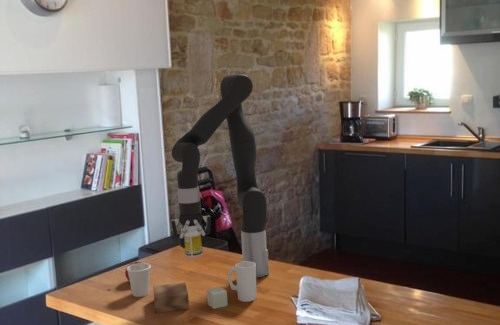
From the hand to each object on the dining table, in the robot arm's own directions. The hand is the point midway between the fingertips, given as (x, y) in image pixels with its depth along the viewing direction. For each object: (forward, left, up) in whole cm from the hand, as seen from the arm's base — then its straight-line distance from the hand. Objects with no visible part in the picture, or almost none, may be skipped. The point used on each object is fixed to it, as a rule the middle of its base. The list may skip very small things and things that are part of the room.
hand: (193, 246), depth 198 cm
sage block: (-6, +14, -17) cm, 22 cm away
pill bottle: (0, 0, -3) cm, 3 cm away
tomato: (+20, -17, -17) cm, 31 cm away
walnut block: (+9, +9, -17) cm, 21 cm away
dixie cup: (+19, -4, -17) cm, 26 cm away
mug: (-15, +11, -17) cm, 25 cm away
